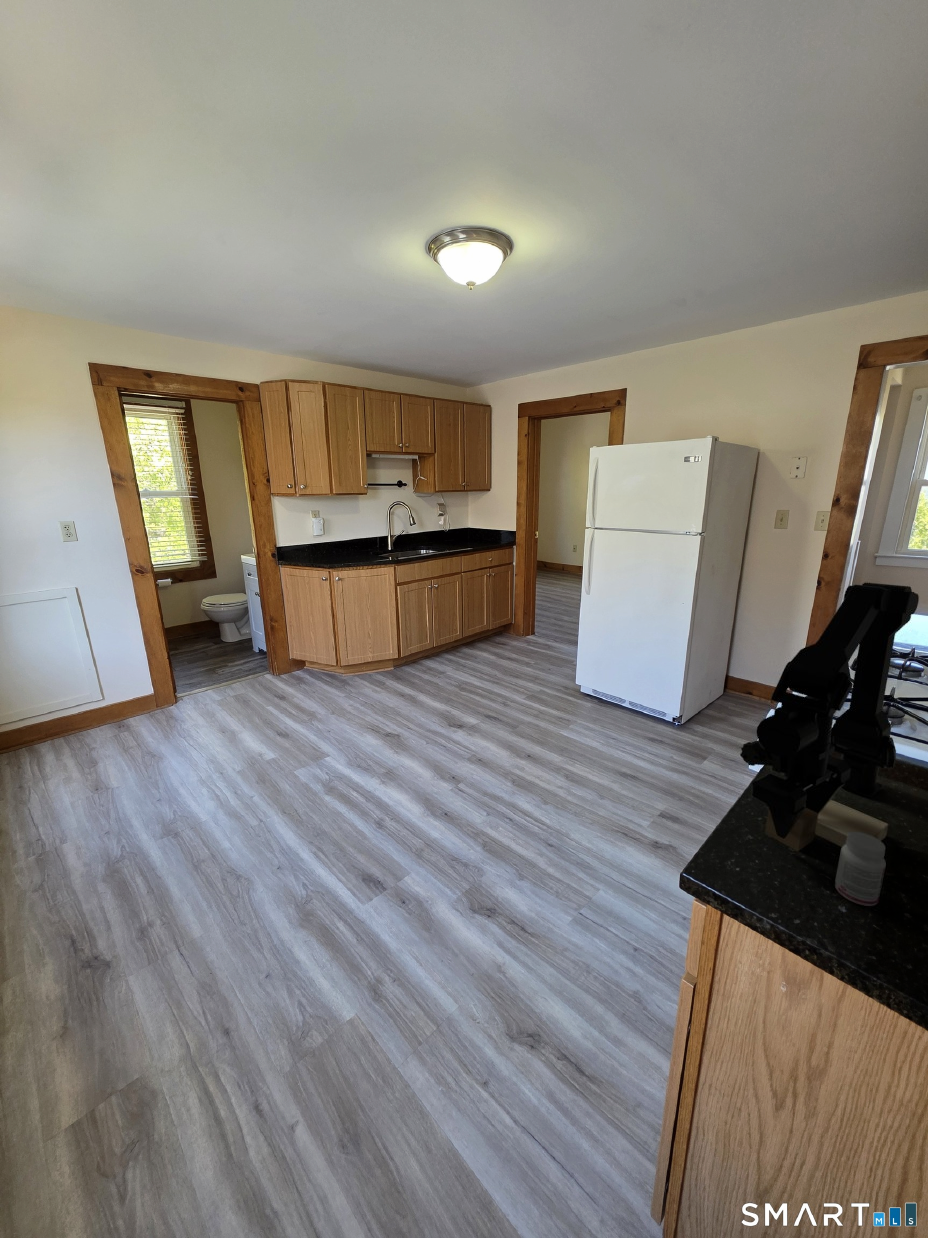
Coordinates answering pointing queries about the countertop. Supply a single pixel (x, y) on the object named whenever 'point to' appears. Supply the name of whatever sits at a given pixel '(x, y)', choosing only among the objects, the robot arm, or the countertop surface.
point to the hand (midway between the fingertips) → (796, 827)
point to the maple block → (846, 823)
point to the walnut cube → (796, 830)
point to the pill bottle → (861, 869)
